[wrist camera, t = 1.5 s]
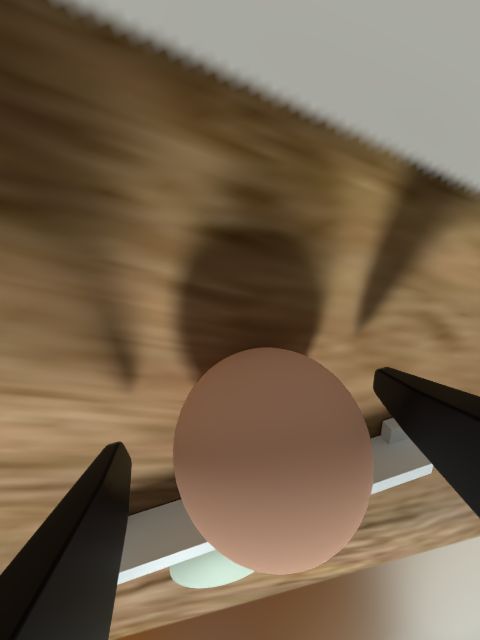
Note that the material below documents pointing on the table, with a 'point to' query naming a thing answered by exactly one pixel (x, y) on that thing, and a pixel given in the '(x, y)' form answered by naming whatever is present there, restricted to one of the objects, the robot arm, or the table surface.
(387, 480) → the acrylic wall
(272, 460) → the ball
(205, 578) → the felt coaster
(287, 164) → the table surface
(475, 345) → the table surface
